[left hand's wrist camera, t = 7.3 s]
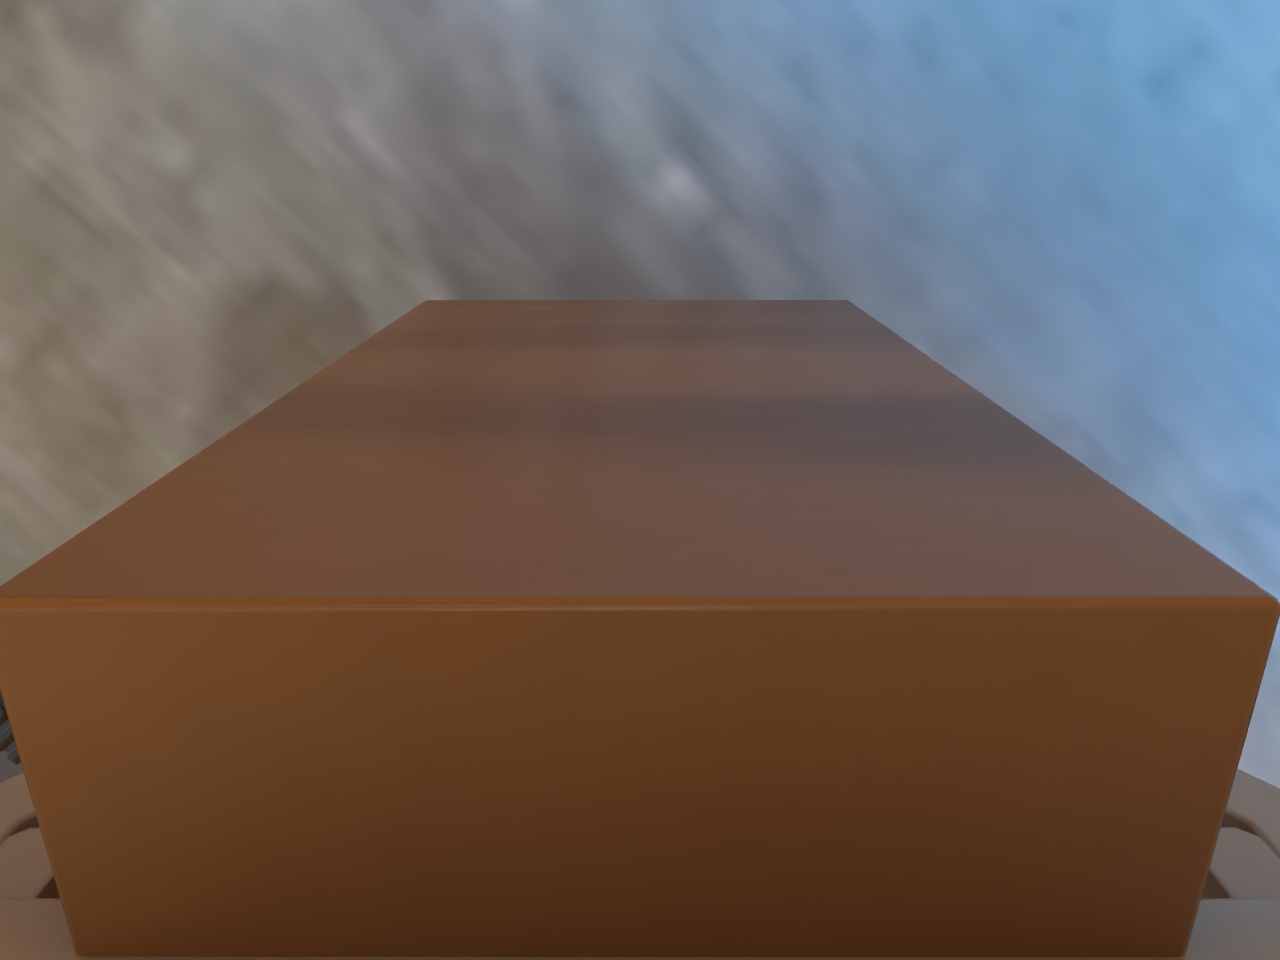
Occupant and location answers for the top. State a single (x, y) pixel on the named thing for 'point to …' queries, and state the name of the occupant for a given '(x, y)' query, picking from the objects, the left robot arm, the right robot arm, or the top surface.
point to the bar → (632, 662)
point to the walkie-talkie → (7, 748)
